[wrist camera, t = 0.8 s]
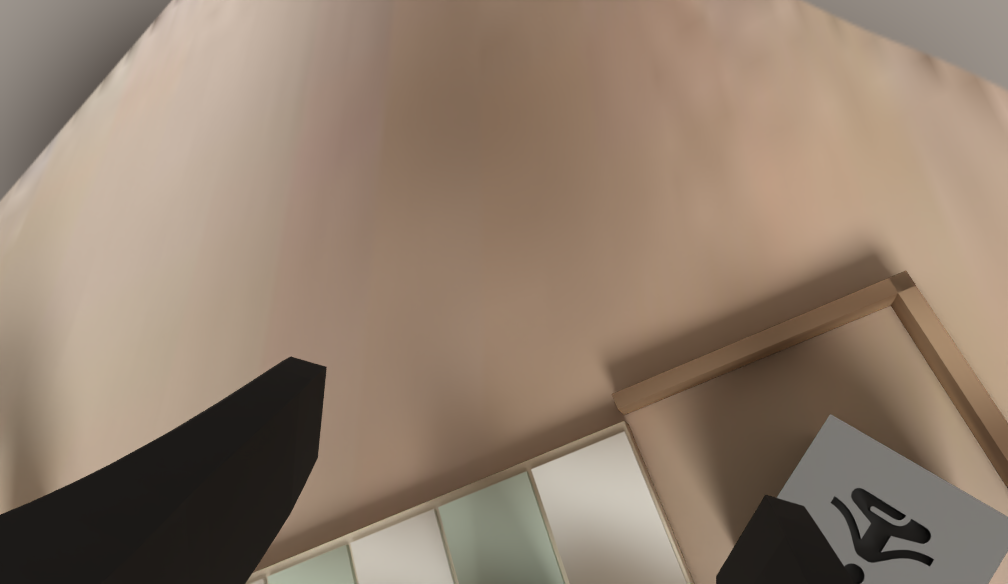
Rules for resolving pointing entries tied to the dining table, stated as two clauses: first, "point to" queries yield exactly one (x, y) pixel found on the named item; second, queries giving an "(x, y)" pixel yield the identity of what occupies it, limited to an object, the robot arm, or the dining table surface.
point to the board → (607, 482)
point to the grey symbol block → (894, 513)
